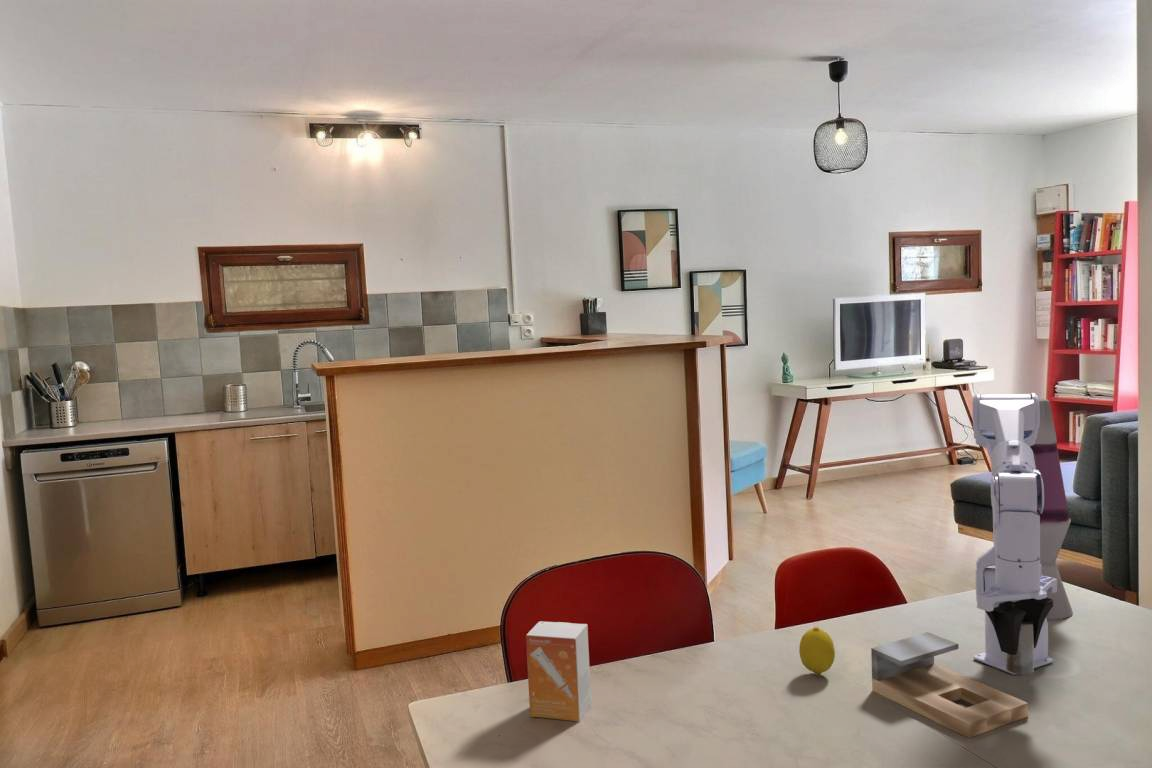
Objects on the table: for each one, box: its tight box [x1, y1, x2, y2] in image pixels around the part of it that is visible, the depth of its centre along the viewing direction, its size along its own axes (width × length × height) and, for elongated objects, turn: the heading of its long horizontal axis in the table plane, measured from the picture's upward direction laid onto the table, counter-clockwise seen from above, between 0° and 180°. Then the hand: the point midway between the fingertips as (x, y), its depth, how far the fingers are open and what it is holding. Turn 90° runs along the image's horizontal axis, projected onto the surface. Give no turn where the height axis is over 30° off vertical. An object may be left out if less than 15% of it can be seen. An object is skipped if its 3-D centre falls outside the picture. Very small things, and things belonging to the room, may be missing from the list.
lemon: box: [798, 626, 836, 676], centre depth 146 cm, size 6×6×8 cm
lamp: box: [1030, 398, 1073, 621], centre depth 168 cm, size 11×11×40 cm
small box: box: [525, 620, 592, 723], centre depth 137 cm, size 8×6×13 cm
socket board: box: [870, 631, 1029, 739], centre depth 134 cm, size 12×18×7 cm, turn 26°
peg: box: [1006, 618, 1035, 675], centre depth 128 cm, size 4×4×7 cm
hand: (1018, 649), depth 128 cm, fingers closed on peg, 4 cm apart
